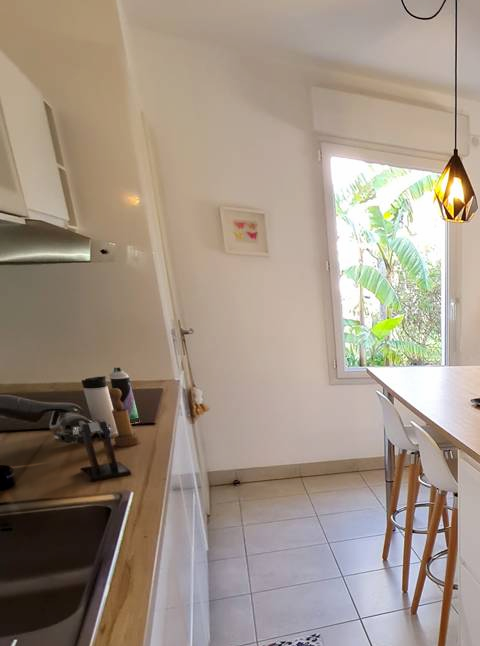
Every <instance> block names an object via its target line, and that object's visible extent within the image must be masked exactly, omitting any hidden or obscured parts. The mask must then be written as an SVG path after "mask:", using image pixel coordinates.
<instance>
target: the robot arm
mask: <svg viewBox="0 0 480 646" xmlns="http://www.w3.org/2000/svg"><path fill="white" fill-rule="evenodd" d="M49 412H52V414H51V417H50V421H49V424H48V426H49V430H50V431H51V432H52V434H53V437H54V440H55V442H60V443H65V444H71V443H73V442H74V443H77V444H85V443H84V440H83V436H82V435H81V432H80V430H79V427H80V425H79V421H84V422H85V423H86V424H88V423H93V422H92V420H90V419H89V418H88V417H86V416H84V410H83V408H82V407H80V406H79V405H78V404H75V403H73V402H72V403H71V402H50V401H49V402H48V401H40V400H34V399H29V398H24V397H20V396H16V395H11V394H0V418H3V419H8V420H13V421H17V422H23V423H28V424H35V425H36V424H39V422H41V420H42V419H43V417H44V416H45V414H47V413H49ZM107 425H108V432H109V436H110V435H111V434H112V433H113V432H112V428H111V425H109V424H107ZM96 434H97V438H96V440H98V441H100V442H103V440H102V436H101V432H100V433H96Z"/></svg>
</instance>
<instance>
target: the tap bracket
mask: <svg viewBox="0 0 480 646" xmlns="http://www.w3.org/2000/svg"><path fill="white" fill-rule="evenodd" d="M97 421H98V423H99V426H100V429H101V431H100V432H101V436H102V444H103V447H104V451H105V455H106V458H107V461H108V462H107V463H102V464H99V462H98V458H97V455H96V452H95V448H94V443H93V441H92V440H91V436H90V433H89V429H88V425H87V424H86V423H85V422H84V421H79V425H80V427H79V430H80V432H82V436H83V439H84V443H83V444H84V446H85V450H86V453H87V457H88V461H89V464H90V466H87V467H86V466H85V467H79V468H80V473H81V475H83V476H84V477H85V478H86V479H87V480H88V481H89V482H90V483H96V482H101V481H106V480H111V479H117V478H122V477H126V476H131V475H132V472H131V470H130V469H129V468H128V467H126V466H125V464H123V463H122V462H121V461H117V458H116V456H115V452H114V448H113V444H112V439H111V438H110V436H109V432H108V425H107V424H106V421H104V420H103V419H97Z"/></svg>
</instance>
